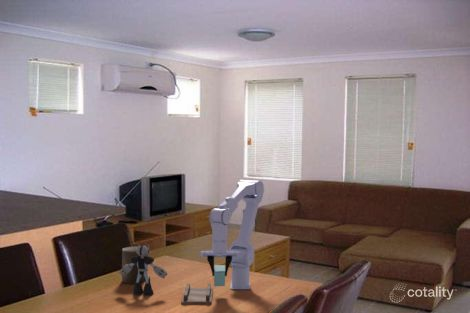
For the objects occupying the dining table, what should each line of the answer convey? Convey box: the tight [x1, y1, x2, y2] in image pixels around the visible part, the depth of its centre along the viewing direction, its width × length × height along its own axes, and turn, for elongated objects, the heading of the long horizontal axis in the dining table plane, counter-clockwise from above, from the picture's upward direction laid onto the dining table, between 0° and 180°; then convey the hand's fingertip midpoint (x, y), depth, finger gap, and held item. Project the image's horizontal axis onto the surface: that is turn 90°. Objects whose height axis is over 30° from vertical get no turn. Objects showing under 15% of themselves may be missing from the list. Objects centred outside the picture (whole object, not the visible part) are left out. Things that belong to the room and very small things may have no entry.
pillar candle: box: [121, 245, 145, 285], centre depth 212 cm, size 10×10×15 cm
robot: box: [119, 241, 168, 297], centre depth 195 cm, size 20×5×20 cm, turn 78°
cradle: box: [180, 283, 214, 305], centre depth 191 cm, size 16×11×3 cm
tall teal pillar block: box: [213, 264, 226, 287], centre depth 191 cm, size 12×4×5 cm, turn 1°
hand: (219, 275), depth 190 cm, fingers closed on tall teal pillar block, 4 cm apart
